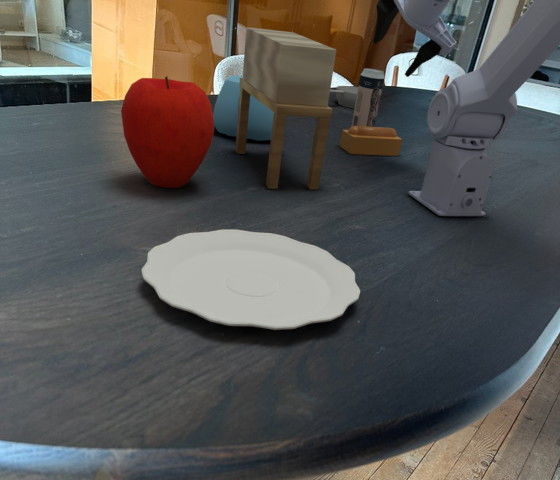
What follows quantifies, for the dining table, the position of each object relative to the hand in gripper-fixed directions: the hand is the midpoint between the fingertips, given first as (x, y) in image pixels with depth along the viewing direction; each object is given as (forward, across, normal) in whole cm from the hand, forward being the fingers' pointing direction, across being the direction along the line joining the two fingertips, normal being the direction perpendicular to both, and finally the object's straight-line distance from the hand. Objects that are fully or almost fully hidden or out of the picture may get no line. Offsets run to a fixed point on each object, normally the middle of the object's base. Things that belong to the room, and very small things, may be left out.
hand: (393, 56), depth 99 cm
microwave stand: (+6, -1, +29) cm, 30 cm away
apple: (0, +4, +47) cm, 47 cm away
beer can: (+22, -2, -4) cm, 22 cm away
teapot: (+20, +11, +17) cm, 29 cm away
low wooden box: (+14, -7, +5) cm, 16 cm away
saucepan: (+40, +11, -24) cm, 49 cm away
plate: (-19, -17, +59) cm, 64 cm away
